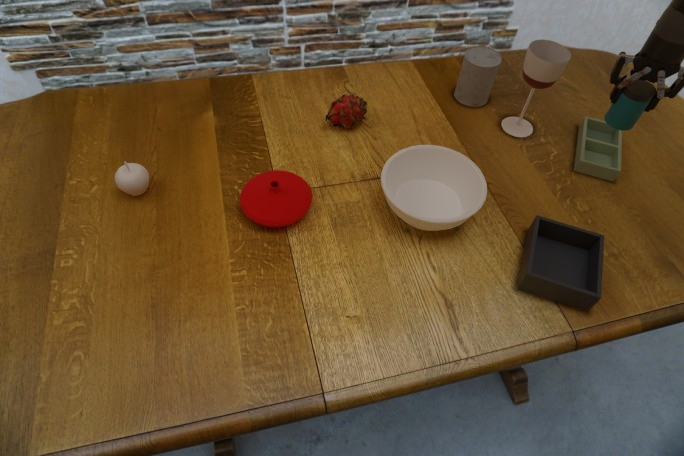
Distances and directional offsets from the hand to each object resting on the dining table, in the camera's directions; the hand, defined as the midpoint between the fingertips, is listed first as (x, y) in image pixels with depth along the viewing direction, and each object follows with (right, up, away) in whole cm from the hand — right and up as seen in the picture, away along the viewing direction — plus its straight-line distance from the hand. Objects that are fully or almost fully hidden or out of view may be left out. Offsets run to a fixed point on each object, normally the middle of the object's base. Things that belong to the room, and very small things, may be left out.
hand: (629, 105), depth 99 cm
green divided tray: (+2, -7, +18) cm, 19 cm away
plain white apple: (-108, -18, +5) cm, 110 cm away
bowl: (-43, -22, +5) cm, 48 cm away
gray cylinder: (-26, +10, +30) cm, 41 cm away
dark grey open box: (-18, -35, -4) cm, 39 cm away
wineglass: (-16, 0, +23) cm, 28 cm away
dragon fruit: (-61, +1, +21) cm, 64 cm away
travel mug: (0, -3, +4) cm, 4 cm away
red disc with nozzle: (-76, -21, +4) cm, 79 cm away
